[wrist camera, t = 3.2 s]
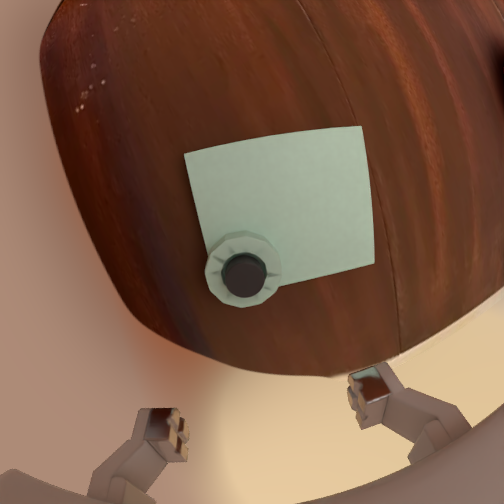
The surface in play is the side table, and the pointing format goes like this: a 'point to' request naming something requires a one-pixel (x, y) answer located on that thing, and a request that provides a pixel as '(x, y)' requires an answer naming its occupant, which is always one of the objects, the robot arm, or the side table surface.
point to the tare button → (244, 276)
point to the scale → (284, 207)
